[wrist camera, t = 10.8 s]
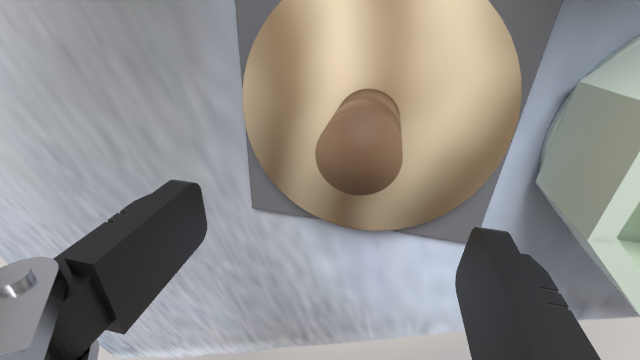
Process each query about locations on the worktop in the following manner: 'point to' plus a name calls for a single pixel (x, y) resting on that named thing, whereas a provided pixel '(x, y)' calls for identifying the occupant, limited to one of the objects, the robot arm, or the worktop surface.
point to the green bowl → (600, 167)
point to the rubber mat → (530, 42)
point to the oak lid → (381, 106)
